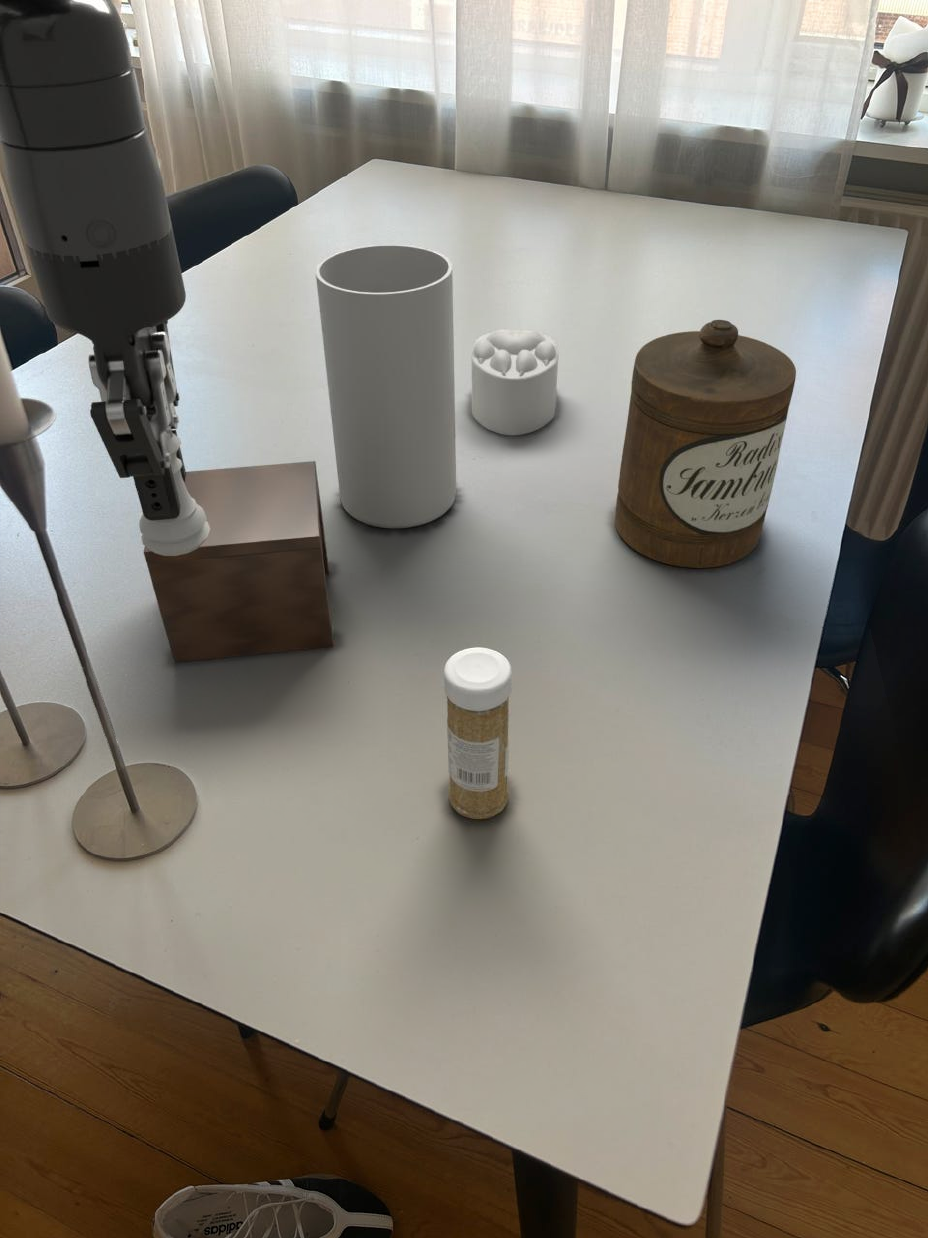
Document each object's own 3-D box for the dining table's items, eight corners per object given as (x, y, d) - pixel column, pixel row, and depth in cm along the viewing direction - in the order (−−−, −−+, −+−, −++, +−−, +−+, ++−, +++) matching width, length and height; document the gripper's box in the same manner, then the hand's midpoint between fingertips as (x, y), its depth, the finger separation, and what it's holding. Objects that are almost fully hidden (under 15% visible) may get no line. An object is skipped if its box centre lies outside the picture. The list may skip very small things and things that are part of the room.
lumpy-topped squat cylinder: (555, 386, 124) (559, 321, 119) (555, 436, 114) (559, 368, 109) (475, 384, 125) (474, 319, 119) (467, 433, 115) (467, 366, 110)
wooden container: (678, 587, 92) (715, 373, 78) (586, 513, 102) (603, 311, 88) (791, 540, 98) (844, 333, 84) (693, 474, 108) (726, 278, 93)
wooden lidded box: (173, 663, 85) (143, 552, 77) (183, 580, 94) (157, 473, 86) (333, 646, 86) (319, 536, 78) (328, 566, 95) (315, 460, 87)
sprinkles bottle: (518, 788, 73) (523, 657, 65) (490, 831, 70) (492, 700, 62) (465, 766, 75) (464, 636, 66) (436, 807, 72) (430, 676, 63)
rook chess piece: (211, 554, 63) (186, 445, 58) (140, 562, 62) (109, 453, 57) (212, 516, 66) (189, 411, 61) (145, 524, 65) (116, 418, 60)
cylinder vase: (478, 489, 106) (478, 259, 90) (412, 545, 98) (398, 304, 82) (386, 457, 111) (371, 236, 95) (316, 508, 103) (287, 276, 87)
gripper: (50, 188, 56) (122, 449, 67) (-9, 278, 45) (89, 570, 56) (182, 181, 57) (232, 440, 68) (154, 268, 46) (219, 559, 57)
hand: (166, 498), depth 62 cm, fingers closed on rook chess piece, 3 cm apart
